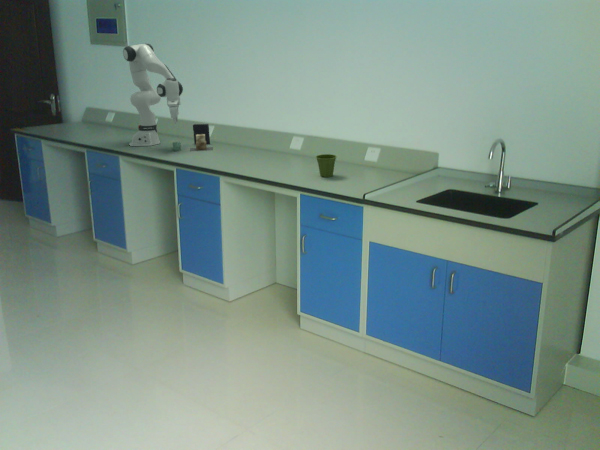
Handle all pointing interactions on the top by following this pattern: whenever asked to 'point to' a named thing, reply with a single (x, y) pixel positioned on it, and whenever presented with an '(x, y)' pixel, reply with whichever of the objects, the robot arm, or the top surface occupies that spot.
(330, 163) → the plant pot
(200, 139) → the top block
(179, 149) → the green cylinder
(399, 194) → the top surface
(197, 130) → the black upright flat panel
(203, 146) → the bottom block
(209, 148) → the mat
